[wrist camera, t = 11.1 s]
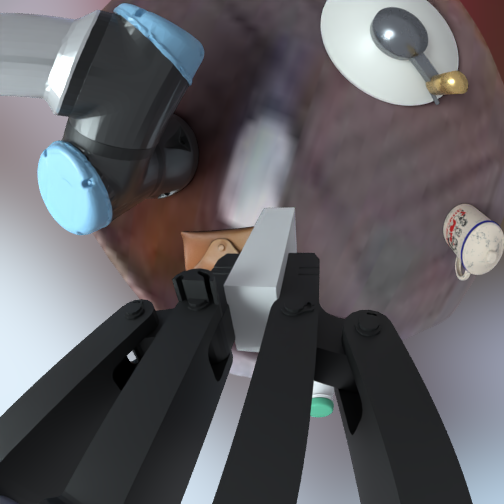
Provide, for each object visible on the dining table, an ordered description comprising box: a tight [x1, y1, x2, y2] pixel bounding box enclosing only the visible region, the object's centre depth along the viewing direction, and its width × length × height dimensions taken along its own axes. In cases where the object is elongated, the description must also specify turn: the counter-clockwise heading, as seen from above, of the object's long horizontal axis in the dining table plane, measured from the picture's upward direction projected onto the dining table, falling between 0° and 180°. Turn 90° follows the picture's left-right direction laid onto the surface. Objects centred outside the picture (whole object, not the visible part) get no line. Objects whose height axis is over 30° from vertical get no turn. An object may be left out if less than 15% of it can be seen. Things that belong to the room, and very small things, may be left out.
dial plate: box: [321, 0, 459, 106], centre depth 26 cm, size 22×22×2 cm
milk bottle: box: [310, 381, 334, 417], centre depth 45 cm, size 8×8×20 cm
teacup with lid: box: [443, 204, 504, 280], centre depth 33 cm, size 12×9×12 cm
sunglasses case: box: [181, 227, 254, 271], centre depth 49 cm, size 18×7×7 cm, turn 103°
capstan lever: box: [370, 7, 468, 95], centre depth 22 cm, size 14×8×8 cm, turn 44°
